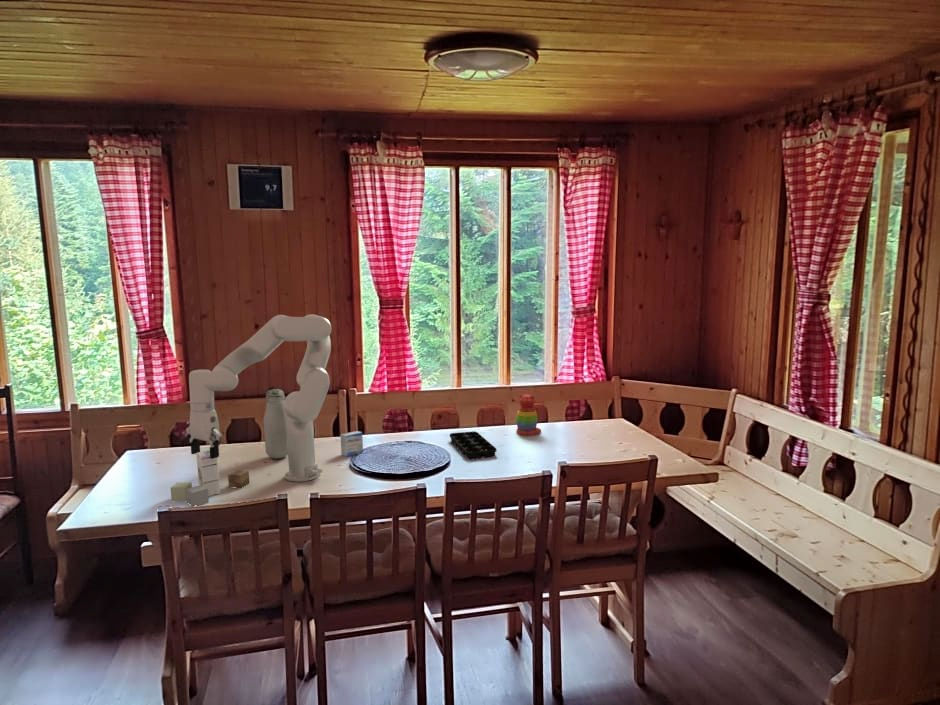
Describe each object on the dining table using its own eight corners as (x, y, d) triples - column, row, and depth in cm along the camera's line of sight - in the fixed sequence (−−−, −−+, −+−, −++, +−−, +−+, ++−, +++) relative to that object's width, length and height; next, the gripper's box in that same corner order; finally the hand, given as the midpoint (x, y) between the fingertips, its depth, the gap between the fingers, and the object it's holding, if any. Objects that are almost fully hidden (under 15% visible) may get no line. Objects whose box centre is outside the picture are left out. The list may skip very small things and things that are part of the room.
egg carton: (473, 437, 294) (473, 429, 293) (509, 455, 268) (509, 446, 267) (437, 443, 285) (437, 435, 285) (471, 462, 259) (471, 453, 259)
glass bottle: (267, 463, 262) (263, 393, 258) (264, 455, 271) (259, 388, 267) (293, 459, 266) (289, 390, 262) (289, 452, 275) (285, 385, 271)
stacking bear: (542, 431, 300) (542, 392, 297) (535, 437, 291) (535, 397, 288) (519, 429, 305) (519, 391, 302) (511, 435, 295) (511, 395, 293)
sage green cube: (192, 496, 228) (191, 482, 227) (186, 501, 223) (185, 487, 222) (178, 496, 228) (177, 482, 227) (171, 501, 223) (170, 487, 222)
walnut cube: (249, 484, 239) (248, 470, 238) (241, 489, 234) (240, 475, 233) (237, 483, 240) (236, 469, 239) (228, 487, 235) (227, 474, 235)
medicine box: (346, 457, 268) (345, 436, 267) (340, 454, 271) (339, 433, 270) (363, 452, 273) (362, 432, 272) (357, 450, 276) (356, 430, 275)
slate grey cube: (208, 502, 222) (207, 488, 221) (194, 507, 218) (193, 492, 217) (201, 499, 225) (200, 485, 224) (186, 503, 221) (185, 489, 220)
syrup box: (221, 493, 229) (218, 453, 227) (203, 497, 226) (199, 456, 224) (216, 489, 234) (213, 449, 232) (199, 492, 231) (195, 452, 228)
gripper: (229, 407, 224) (231, 456, 226) (195, 401, 233) (197, 449, 235) (210, 411, 218) (212, 462, 220) (176, 405, 226) (179, 454, 229)
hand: (205, 455), depth 228 cm, fingers open, 9 cm apart
